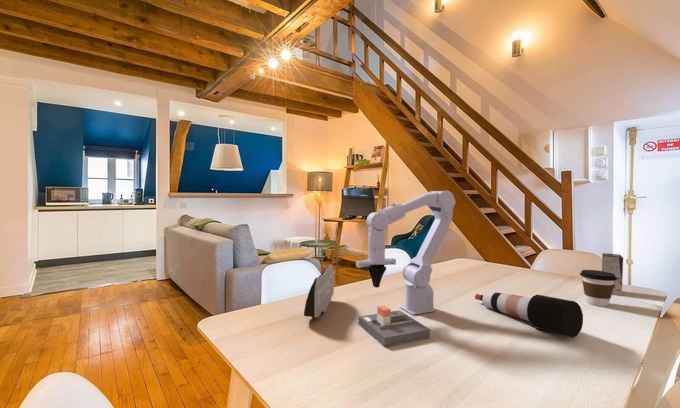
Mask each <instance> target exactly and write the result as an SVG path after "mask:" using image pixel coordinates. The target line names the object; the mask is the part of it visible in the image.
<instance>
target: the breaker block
mask: <svg viewBox="0 0 680 408" xmlns="http://www.w3.org/2000/svg"><path fill="white" fill-rule="evenodd" d="M358 325H359V326H360V327H361V328H362V329H363V330H364V331H365V332H366V333H368V334H369V335H370V336H371V337H372V336H373V337H372V338H374V339H375V340H376V341H377V342H378V343H379V344H380V343H381V346H382V347H384V348H387V347H392V346H396V345H401V344H407V343H412V342H417V341H421V340H426V339H430V338H431V329H430V328H429V327H427V326H425V325H424V324H422V323H421V322H419V321H417V320H415V319H414V318H413V317H411V316H409V315H408V314H406V313H404V312H402V311H401V310H395V311H391V314H390V324H387V325H381V324H380V323H378V322H377V313H372V314H368V315H362V316H361V315H360V316H358Z"/></svg>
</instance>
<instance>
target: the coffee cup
mask: <svg viewBox="0 0 680 408" xmlns="http://www.w3.org/2000/svg"><path fill="white" fill-rule="evenodd" d="M579 275H580V276H581V277H582V287H583V293H584V295H585V302H587V304H589V305H591V306H595V307H601V308H603V307H608V306H609V304H610V300H611V298H612V296H613V294H612V291H613V287H614V281H615V280H617V278H616V277H615V275H614V274H612V273H609V272H604V271H602V270H597V269H596V270H595V269H583V270H582V269H581V272H579Z"/></svg>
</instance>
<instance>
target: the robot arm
mask: <svg viewBox="0 0 680 408" xmlns="http://www.w3.org/2000/svg"><path fill="white" fill-rule="evenodd" d="M455 205H456V198H455V197H454V194H453V193H452V192H451V191H450V190H430V191H428V192H424V193H422V194H421V195H418V196H417V197H414V198H412V199H410V200H408V201H407V202H404V203H402V204H401V203H398V202H396V203H395V202H391V203H390V205H389V206H387V207H384V208H379V209H378V212H377V211H375V212H373V211H372V212H371V213H369V214H368V216H367V217H366V219H365V224H366V225H367V227H368V234H367V235H368V238H367V241H368V243H367V244H368V245H367V249H368V250H367V259H362V260H356V261H355V266H356V268H359V269H360V268H361V269H362V268H365V267H366V269H367V271H368V273H369V275H370V277H371V278H370V280H371V282H372V283H371V284H372V287H373V288H380V286H381V283H382V282H381V281H382V278H383V275H384V274H385V272H386V271H387V266H388V265H390V266H391V265H393V266H394V265H395V266H396V265H397V259H396V258H395V257H393V258H390V257H389V258H388V257H387V258H386V228H388V226H389V225H391V224H393V223H395V222H398V221H400V220H402V219H405V216H406V214H407V213H409V212H412V211H414V210H418V209H420V208H421V207H425V206H427V207H428V208H429V210H430V211H431V212H432V213H433V216H434V221H433V222H432V224H431V226H430V229H429V230H428V232H427V234H426V237H425V238H424V240H423V242H422V244H421V246H420V248H419V250H418V252H417V254H416V256H415V257H412V258H411V259H410V260H409V262H408V263H407V264H405V266H404V267H403V269H402V277H403V279H404V280H405V290H404V291H405V302H404V303H405V304H404V305H400V309H402V310H404V311H406V312H408V313H409V314H411V315H413V316H414V315H420V314H427V313H432V312H435V309H434V289H433V287H432V286H431V285H430V281H431V275H432V271H433V267H432V265H431V263H432V261H433V259H434V258H435V256H436V255H435V254H436V253H437V251H438V249H439V248H440V245H441V243H442V241H443V240H444V237H445V235H446V233H447V231H448V229H449V228H450V225H451V224H452V222H453V217H454V215H453V214H454V207H455Z"/></svg>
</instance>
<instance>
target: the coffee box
mask: <svg viewBox="0 0 680 408" xmlns="http://www.w3.org/2000/svg"><path fill="white" fill-rule="evenodd" d="M601 254H602V255H601V271H604V272H609V273H612V274H614V275H615V277H616V278H617V280H615V281H614V287H613V291H612V296H613V295H614V296H618V297H619V296H623V295H622V294H623V277H624V276H623V273H624V257H623V255H622V254H617V253H606V252H604V253H601Z"/></svg>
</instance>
